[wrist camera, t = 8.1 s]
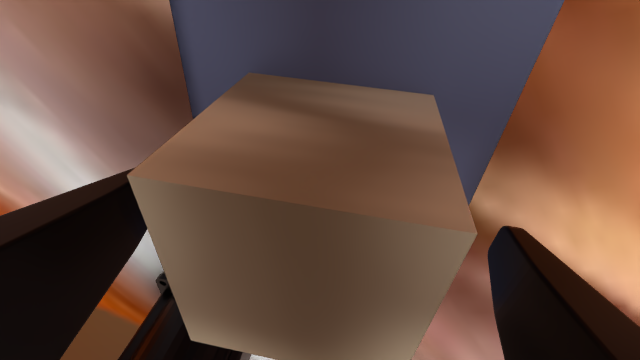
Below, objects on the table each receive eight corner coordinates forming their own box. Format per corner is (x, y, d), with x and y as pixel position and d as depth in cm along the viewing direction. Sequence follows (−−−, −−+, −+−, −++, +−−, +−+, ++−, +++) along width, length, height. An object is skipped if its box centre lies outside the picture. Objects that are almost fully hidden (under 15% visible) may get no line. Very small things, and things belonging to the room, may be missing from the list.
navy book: (246, 213, 16) (221, 258, 14) (212, -87, 9) (149, -102, 7) (420, 244, 15) (425, 297, 13) (537, -65, 8) (599, -74, 6)
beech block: (259, 207, 12) (190, 340, 8) (248, 72, 9) (126, 175, 5) (394, 230, 11) (396, 386, 7) (433, 95, 8) (477, 233, 4)
